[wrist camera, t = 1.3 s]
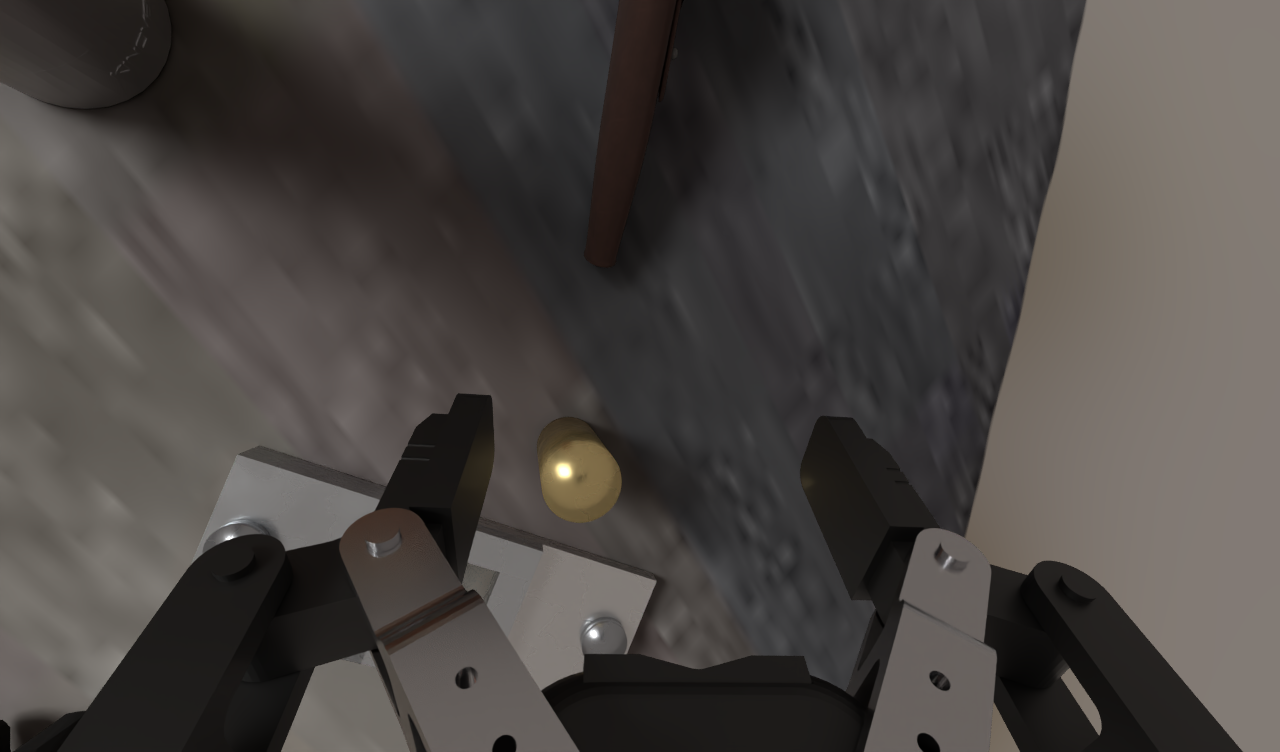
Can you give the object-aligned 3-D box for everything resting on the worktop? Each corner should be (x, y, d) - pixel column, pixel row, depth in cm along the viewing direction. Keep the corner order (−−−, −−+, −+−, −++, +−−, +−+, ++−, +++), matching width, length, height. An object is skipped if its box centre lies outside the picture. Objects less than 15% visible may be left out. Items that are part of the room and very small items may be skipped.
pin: (527, 464, 35) (529, 507, 26) (550, 408, 35) (560, 432, 26) (583, 484, 35) (603, 533, 27) (606, 429, 36) (633, 459, 27)
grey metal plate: (195, 595, 31) (158, 624, 28) (259, 445, 31) (229, 457, 28) (600, 699, 37) (607, 733, 34) (652, 573, 37) (664, 595, 34)
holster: (617, 198, 46) (705, -202, 33) (634, 275, 33) (794, -347, 19) (560, 185, 45) (626, -234, 32) (552, 260, 32) (662, -411, 18)
